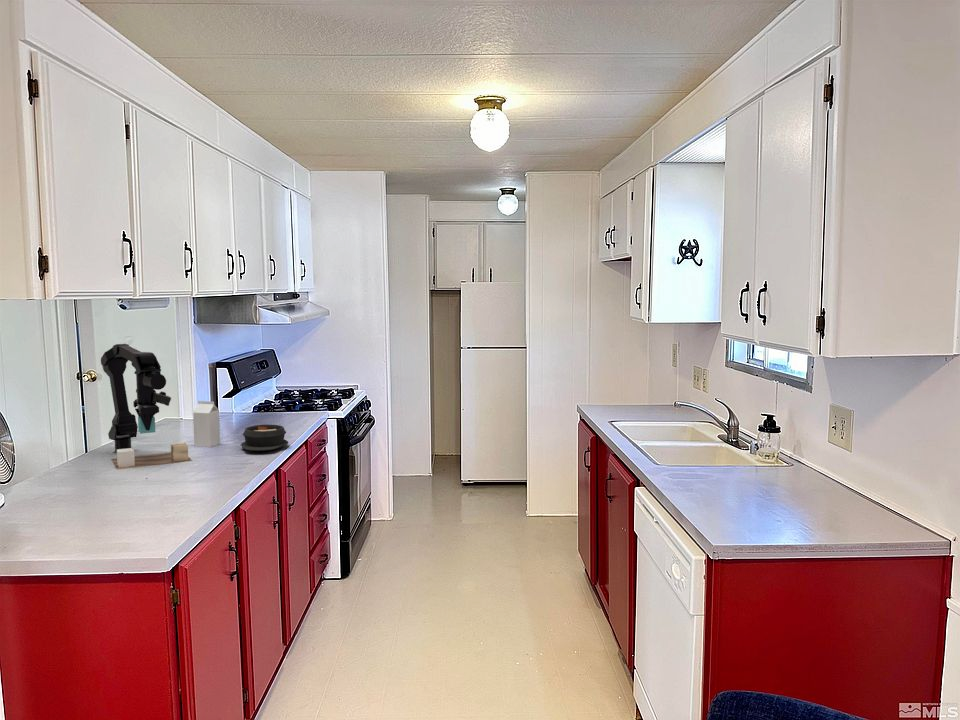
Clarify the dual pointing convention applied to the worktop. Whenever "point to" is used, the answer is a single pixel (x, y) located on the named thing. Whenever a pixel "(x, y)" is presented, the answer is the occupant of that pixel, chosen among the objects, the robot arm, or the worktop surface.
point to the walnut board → (150, 460)
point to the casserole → (264, 437)
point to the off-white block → (125, 457)
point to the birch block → (179, 451)
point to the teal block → (142, 428)
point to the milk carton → (206, 424)
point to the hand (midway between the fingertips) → (146, 429)
